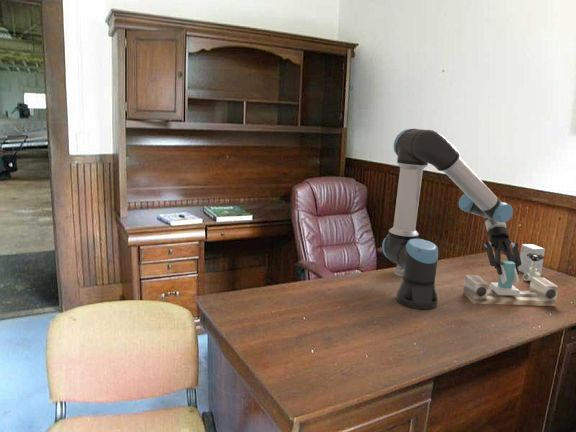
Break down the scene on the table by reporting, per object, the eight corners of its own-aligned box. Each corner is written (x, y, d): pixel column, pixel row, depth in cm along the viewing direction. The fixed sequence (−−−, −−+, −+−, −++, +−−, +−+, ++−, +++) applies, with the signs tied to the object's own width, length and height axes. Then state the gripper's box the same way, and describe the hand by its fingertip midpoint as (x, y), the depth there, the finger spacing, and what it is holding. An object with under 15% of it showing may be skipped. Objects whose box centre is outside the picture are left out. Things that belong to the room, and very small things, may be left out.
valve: (519, 278, 205) (523, 253, 202) (531, 277, 207) (535, 252, 204) (531, 284, 199) (535, 257, 196) (543, 283, 201) (547, 257, 198)
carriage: (498, 296, 175) (503, 265, 173) (489, 289, 183) (493, 258, 180) (518, 297, 176) (523, 265, 173) (508, 289, 183) (513, 259, 181)
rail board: (473, 303, 174) (476, 284, 173) (462, 293, 185) (465, 274, 183) (555, 306, 175) (559, 287, 173) (540, 296, 185) (543, 277, 184)
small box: (541, 275, 211) (545, 248, 208) (529, 276, 209) (534, 249, 206) (528, 269, 218) (532, 243, 216) (517, 270, 217) (521, 244, 214)
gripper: (513, 235, 190) (527, 287, 178) (472, 233, 190) (484, 285, 177) (521, 226, 184) (537, 279, 171) (480, 224, 184) (492, 277, 171)
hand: (510, 282), depth 174 cm, fingers closed on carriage, 4 cm apart
